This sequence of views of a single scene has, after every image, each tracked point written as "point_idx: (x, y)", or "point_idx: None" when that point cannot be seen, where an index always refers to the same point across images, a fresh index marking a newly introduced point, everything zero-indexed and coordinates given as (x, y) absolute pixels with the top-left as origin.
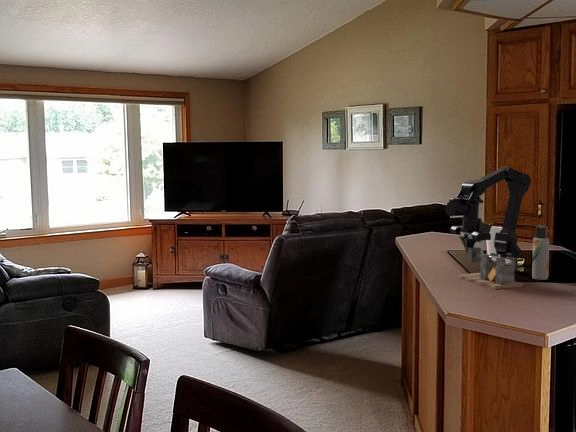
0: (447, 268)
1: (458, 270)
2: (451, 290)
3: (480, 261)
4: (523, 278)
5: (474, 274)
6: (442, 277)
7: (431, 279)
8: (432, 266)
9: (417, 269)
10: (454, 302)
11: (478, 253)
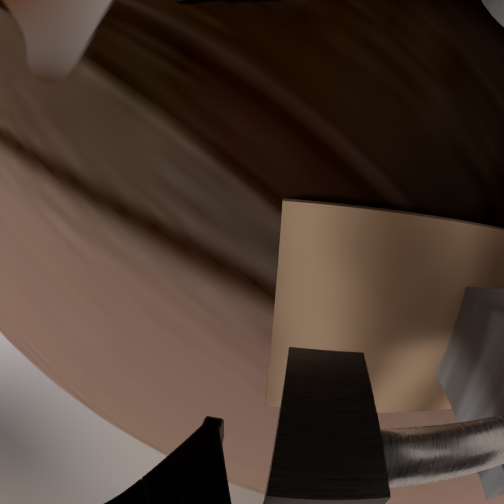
0: (37, 259)
1: (86, 245)
2: (431, 491)
3: (363, 354)
4: (493, 62)
5: (316, 322)
6: (233, 436)
7: (251, 476)
8: (3, 284)
9: (49, 378)
10: (488, 500)
11: (421, 483)
